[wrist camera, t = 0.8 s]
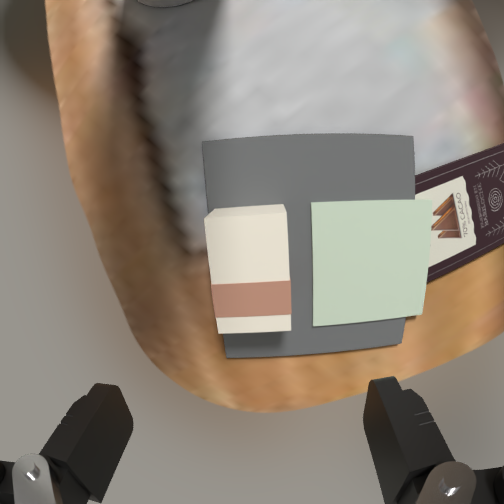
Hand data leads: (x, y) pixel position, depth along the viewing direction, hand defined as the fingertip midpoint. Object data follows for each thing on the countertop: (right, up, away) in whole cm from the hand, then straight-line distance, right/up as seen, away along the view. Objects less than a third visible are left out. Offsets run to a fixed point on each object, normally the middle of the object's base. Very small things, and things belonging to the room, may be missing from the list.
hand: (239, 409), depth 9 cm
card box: (0, +4, +15) cm, 16 cm away
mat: (+5, +5, +15) cm, 17 cm away
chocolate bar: (+19, +9, +14) cm, 25 cm away
